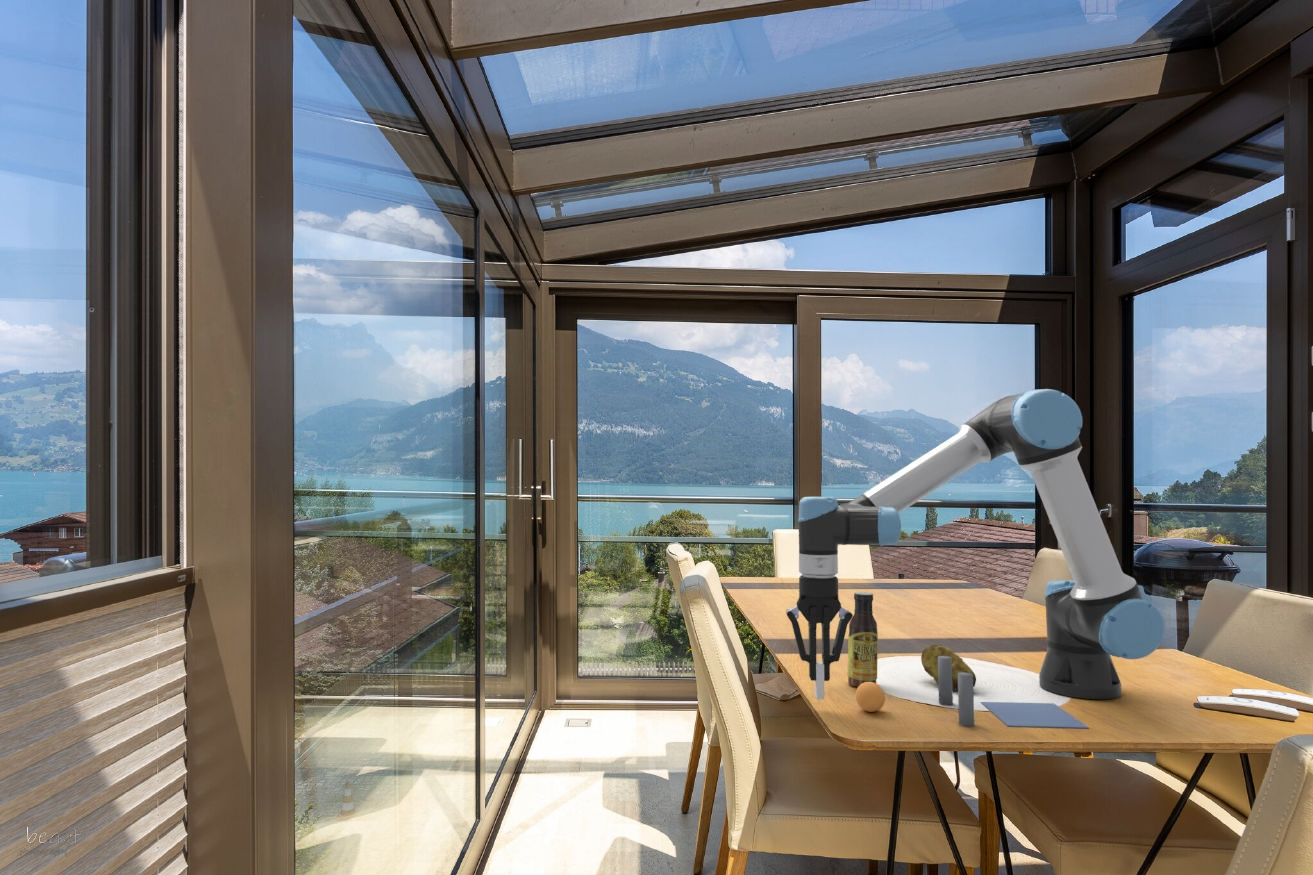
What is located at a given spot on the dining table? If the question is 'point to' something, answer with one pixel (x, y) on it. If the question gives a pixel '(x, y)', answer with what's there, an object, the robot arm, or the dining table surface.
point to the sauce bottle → (862, 642)
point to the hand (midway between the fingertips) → (819, 697)
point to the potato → (931, 663)
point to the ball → (870, 696)
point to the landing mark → (1033, 715)
